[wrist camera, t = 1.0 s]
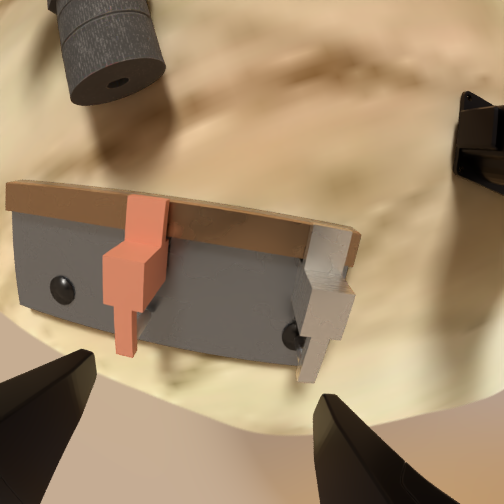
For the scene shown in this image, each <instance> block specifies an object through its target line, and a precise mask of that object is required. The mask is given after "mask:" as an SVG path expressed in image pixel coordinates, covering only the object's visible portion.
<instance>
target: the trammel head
mask: <svg viewBox="0 0 504 504" xmlns="http://www.w3.org/2000/svg"><path fill="white" fill-rule="evenodd" d="M169 203H170V199H167V198H159V197H152V196H145V195H137V194H132V195H129V196H128V199H127V211H126V225H125V240H124V241H123V242H121V243H120V244H119V245H117V246H116V247H114V248H113V249H111V250H110V251H108V252H107V253H105V254H104V255H103V304H106V305H110V306H114V328H115V345H116V354H119V355H123V356H127V357H131V358H133V357H134V355H135V353H136V351H137V340H138V338H139V337H140V335H141V333H142V332H143V330H144V329H145V327H146V325H147V324H148V322H149V320H150V319H151V317H152V314H151V312H150V311H148V310H145V309H146V307H147V306H148V305H149V303H150V302H151V300H152V299H153V297H154V296H155V294H156V293H157V292H158V290H159V289H160V287H161V286H162V284H163V283H164V282H165V280H166V268H167V256H168V245H169V239H166V230H167V221H168V211H169ZM137 312H141V314H140V316H139V317H138V318H137Z"/></svg>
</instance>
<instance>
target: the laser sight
mask: <svg viewBox="0 0 504 504" xmlns="http://www.w3.org/2000/svg"><path fill="white" fill-rule="evenodd" d="M47 4H48V10H50V11H51V12H53V13H55V14H56V15H57V21H58V29H59V35H60V42H61V51H62V57H63V61H64V66H65V72H66V78H67V82H68V87H69V92H70V99H71V101H72V102H73V103H74V104H76V105H81V106H90V105H98V104H103V103H107V102H111V101H114V100H117V99H120V98H123V97H126V96H128V95H131V94H133V93H135V92H137V91H139V90H141V89H143V88H145V87H147V86H149V85H150V84H152V83H153V82H155V81H156V80H157V79H159V78H160V77H161V76H162V75H163V73H164V72H165V69H166V65H165V62H164V60H163V57H162V54H161V50H160V47H159V44H158V40H157V37H156V34H155V29H154V25H153V22H152V19H151V16H150V13H149V9H148V6H147V2H146V0H47Z"/></svg>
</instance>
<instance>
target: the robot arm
mask: <svg viewBox="0 0 504 504" xmlns="http://www.w3.org/2000/svg"><path fill="white" fill-rule="evenodd" d="M467 96H468V98H469V100H468V99H467ZM459 167H461V171H460V172H459ZM453 170H454V173H455V175H457V176H459V177H461V178H464V179H466V180H469V181H471V182H473V183H476V184H478V185H481V186H483V187H485V188H488V189H490V190H492V191H494V192H497V193H499V194H501V195H503V196H504V105H501V106H494V105H492V104H490V103H489V102H487V101H485V100H484V99H482V98H480V97H478V96H477V95H475V94H473V93H471V92H469V91H466V92H463V93H462V96H461V110H460V117H459V127H458V136H457V147H456V154H455V160H454V167H453ZM96 376H97V371H96V363H95V356H94V353H93V352H91V351H88V350H85V349H80V350H77V351H75V352H73V353H70V354H68V355H66V356H63V357H61V358H59V359H56V360H54V361H52V362H49V363H47V364H45V365H42V366H40V367H38V368H35V369H33V370H30V371H28V372H26V373H23V374H21V375H18V376H16V377H14V378H11V379H9V380H6V381H4V382H2V383H0V504H40V503H41V501H42V498H43V496H44V494H45V492H46V489H47V487H48V485H49V483H50V480H51V478H52V476H53V474H54V472H55V470H56V467H57V465H58V463H59V461H60V459H61V457H62V455H63V453H64V451H65V448H66V446H67V444H68V442H69V440H70V438H71V436H72V434H73V432H74V430H75V429H76V427H77V425H78V422H79V421H80V418H81V416H82V414H83V411H84V409H85V406H86V403H87V401H88V398H89V395H90V393H91V390H92V388H93V385H94V383H95V380H96ZM313 439H314V462H315V470H316V477H317V484H318V491H319V498H320V504H460V503H458V502H457V501H455V500H454V499H453V498H451V497H450V496H448V495H447V494H445V493H444V492H442V491H441V490H440V489H438V488H437V487H435V486H434V485H433V484H431V483H430V482H429V481H427V480H426V479H425V478H424V477H423V476H421V475H420V474H419V473H418V472H417V471H416V470H414V469H413V468H412V467H411V466H410V465H409V464H408V463H407V462H405V461H404V460H403V459H402V458H401V457H400V456H399V455H398V454H397V453H396V452H395V451H394V450H393V449H391V448H390V447H389V446H388V445H387V444H386V443H385V442H384V441H383V440H382V439H381V438H380V437H379V436H378V435H377V434H376V433H375V432H374V431H373V430H371V428H370V427H369V426H367V425H366V424H365V423H364V422H363V421H362V420H361V419H360V418H359V417H358V416H357V415H356V414H355V413H354V412H353V411H352V410H351V409H350V408H349V407H348V406H347V405H346V404H345V403H344V402H343V401H342V400H341V399H340V398H339V397H338V396H337V395H335V394H322V396H321V397H320V399H319V402H318V404H317V406H316V409H315V411H314V414H313Z"/></svg>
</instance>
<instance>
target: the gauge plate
mask: <svg viewBox="0 0 504 504" xmlns="http://www.w3.org/2000/svg"><path fill="white" fill-rule="evenodd" d="M132 194H137V195H145V196H152V197H159V198H167V199H170V203H169V211H168V221H167V230H166V239H169V245H168V256H167V268H166V280H165V282H164V283H163V284H162V286H161V287H160V289H159V290H158V292H157V293H156V294H155V296H154V297H153V299H152V300H151V302H150V303H149V305H148V306H147V307H146V309H145V310H148V311H150V312H151V314H152V317H151V319H150V320H149V322H148V324H147V325H146V327H145V329H144V330H143V332H142V333H141V335H140V337H139V338H138V339H139V340H143V341H147V342H152V343H156V344H161V345H166V346H171V347H175V348H180V349H186V350H191V351H196V352H202V353H207V354H213V355H219V356H225V357H232V358H238V359H245V360H252V361H260V362H268V363H276V364H285V365H294V366H298V367H297V370H296V379H297V382H304V383H315V380H316V378H317V375H318V372H319V369H320V367H321V364H322V361H323V358H324V355H325V352H326V349H327V347H328V344H329V341H330V339H333V340H341V338H342V335H343V332H344V329H345V326H346V323H347V320H348V317H349V314H350V311H351V308H352V305H353V302H354V298H355V293H354V292H353V290H352V289H351V288H350V286H349V285H348V283H347V282H346V280H345V277H346V273H347V269H348V266H350V267H353V265H354V261H355V258H356V254H357V250H358V246H359V242H360V238H361V234H360V233H359V232H357V231H356V230H355V229H353V228H352V227H348V226H343V225H338V224H333V223H328V222H323V221H318V220H312V219H307V218H302V217H296V216H291V215H285V214H280V213H274V212H268V211H262V210H256V209H250V208H244V207H238V206H232V205H226V204H220V203H213V202H207V201H200V200H193V199H186V198H179V197H172V196H165V195H158V194H150V193H143V192H135V191H127V190H119V189H110V188H102V187H93V186H84V185H74V184H64V183H54V182H43V181H32V180H18V181H13V182H7V183H6V210H7V211H12V225H13V246H14V260H15V270H16V279H17V287H18V294H19V301H20V305H23V306H25V307H28V308H31V309H34V310H37V311H40V312H43V313H46V314H49V315H52V316H55V317H58V318H62V319H65V320H68V321H71V322H75V323H78V324H81V325H85V326H88V327H92V328H96V329H99V330H103V331H107V332H110V333H114V334H115V328H114V306H110V305H106V304H103V255H104V254H105V253H107V252H108V251H110V250H111V249H113V248H114V247H116V246H117V245H119V244H120V243H121V242H123V241H124V240H125V225H126V211H127V199H128V196H129V195H132ZM140 314H141V312H137V318H138V317H139V316H140Z"/></svg>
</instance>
